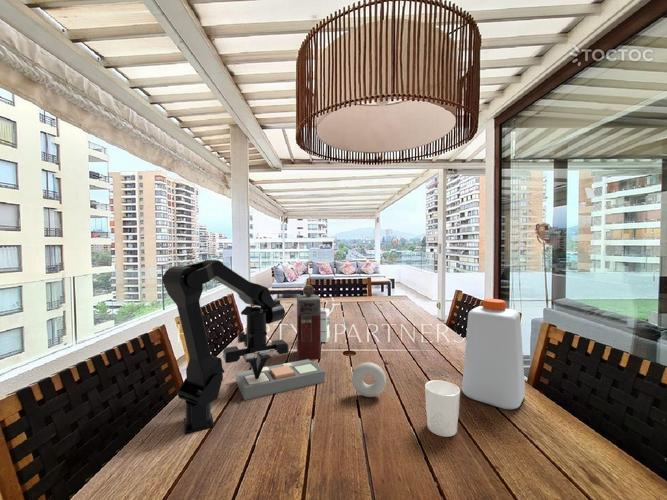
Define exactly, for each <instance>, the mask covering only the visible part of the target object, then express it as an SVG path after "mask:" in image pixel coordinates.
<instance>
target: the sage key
mask: <svg viewBox="0 0 667 500" xmlns="http://www.w3.org/2000/svg"><path fill="white" fill-rule="evenodd" d="M294 369H295V370H296V371H297V372H298V373H299V374H300V375H301V374H306V373H310V372H315V371H318V370H317V369H316V368H315V367H314V366H313V365H312V364H306V365H301V366H296V367H294Z"/></svg>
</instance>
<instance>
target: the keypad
mask: <svg viewBox="0 0 667 500" xmlns="http://www.w3.org/2000/svg"><path fill="white" fill-rule="evenodd" d="M306 364H312V365H313V366H314V367H315V368H316V369H317V370H318V371H315V372H310V373H306V374H301V375H300V374H299V373H298V372H297V371H296V370H295V369H294V367H296V366H301V365H306ZM287 365H288V366H289V367H290V368H291V369H292V370H293V371H294V376H291V377H286V378H282V379H277V380H275V379H274V378H273V377H272V375H271V374H270V369H271V368H277V367H282V366H287ZM261 373H265V375H266V376H267V378H268V379H269V381H267V382H262V383H258V384H253V385H247V383H246V381H245V376H250V375H254V373H253V371H252V369H249V370H243V371H237V372H235V377H236V378H235V382H236V384H237V385H236V386H238V387H237V388H238V389H239V391H240V393H241V395H242V398H243V400H244V401H248V400H252V399H256V398H259V397H266V396H270V395H273V394H278V393H283V392H287V391H291V390H296V389H300V388H304V387H308V386H313V385H318V384H322V383H325V370H324V369H323V368H322V367H320V366H319V365H318V364H317V363H315V362H314V361H311V359H303V360H297V361H291V362H286V363H281V364H280V363H279V364H276V365H269V366H264V367H263V369H262V371H261Z"/></svg>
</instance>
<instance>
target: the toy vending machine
mask: <svg viewBox="0 0 667 500" xmlns="http://www.w3.org/2000/svg"><path fill="white" fill-rule="evenodd" d="M302 292H303V295H302V294H300V295H297V297H296V356H297V361H301V360H307V359H309V360H318V359H321V357H322V355H321V353H322V349H321V348H322V347H321V346H322V345H321V344H322V343H321V308H322V307H321V306H322V305H321V304H322V303H321V302H322V301H321V298H320V296H319V295H317V294H314V293H315V289H314V287H313V286H312V285H311V284H307V285H305V286H304V287H303V288H302Z"/></svg>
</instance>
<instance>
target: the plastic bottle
mask: <svg viewBox="0 0 667 500" xmlns="http://www.w3.org/2000/svg"><path fill="white" fill-rule="evenodd" d="M466 326H467V327H466V334H465V335H466V337H465V349H464V360H463V370H462V371H463V373H462V384H461V390H462V393H463V394H464V395H465V396H466V397H468V398H469V399H471V400H474V401H478V402H480V403H484V404H486V405H490V406H494V407H497V408H499V409H502V410H503V409H504V410H515V409H518V408H519V407H520V406H521V404H522V402H523V400H524V398H525V396H526V383H525V371H524V369H525V367H524V353H523V339H522V338H523V337H522V323H521V314H520V312H519V311H517V310H516V309H512V308H507V303H506V301H505V300H503V299H498V298H484V299H483V300H482V305H479V306H476V307H474V308H472V309H471V310H470V311H469V312H468V314H467V324H466Z"/></svg>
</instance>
